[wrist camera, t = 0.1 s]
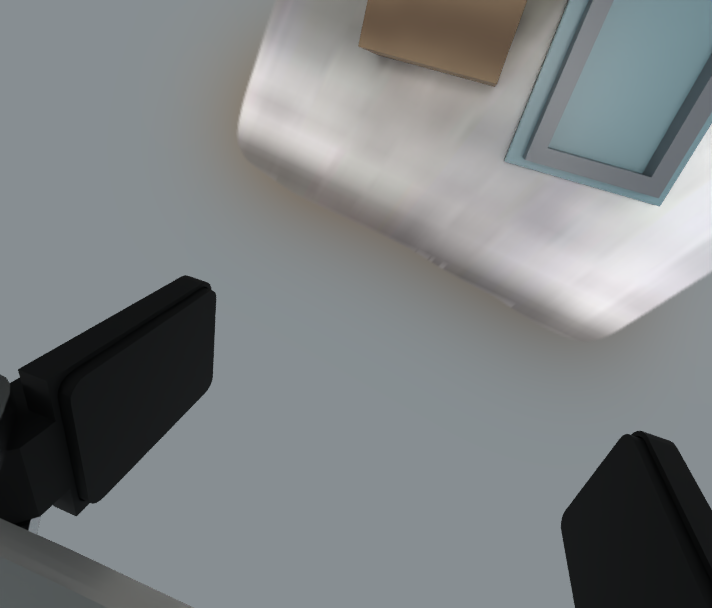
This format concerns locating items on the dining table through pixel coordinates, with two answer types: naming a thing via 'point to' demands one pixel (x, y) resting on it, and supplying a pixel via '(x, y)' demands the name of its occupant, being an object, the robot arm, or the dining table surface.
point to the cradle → (621, 96)
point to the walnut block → (444, 34)
